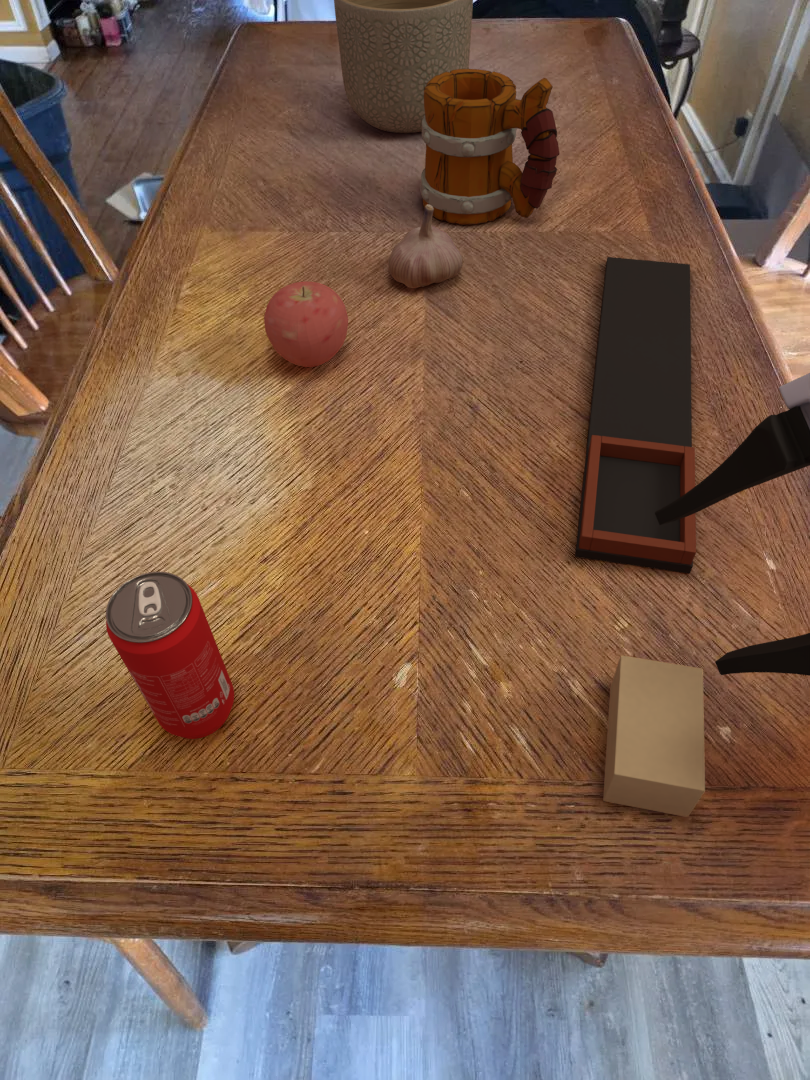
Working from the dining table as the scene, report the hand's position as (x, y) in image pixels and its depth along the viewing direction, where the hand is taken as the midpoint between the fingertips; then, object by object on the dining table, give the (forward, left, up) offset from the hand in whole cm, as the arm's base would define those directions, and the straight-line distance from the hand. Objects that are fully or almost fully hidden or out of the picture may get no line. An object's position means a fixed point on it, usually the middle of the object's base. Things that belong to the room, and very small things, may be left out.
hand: (693, 589), depth 40 cm
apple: (+31, -33, -16) cm, 48 cm away
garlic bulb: (+23, -48, -16) cm, 56 cm away
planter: (+33, -85, -16) cm, 93 cm away
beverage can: (+28, +4, -16) cm, 32 cm away
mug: (+19, -63, -16) cm, 68 cm away
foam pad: (-1, +1, -16) cm, 16 cm away
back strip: (+1, -34, -16) cm, 37 cm away
